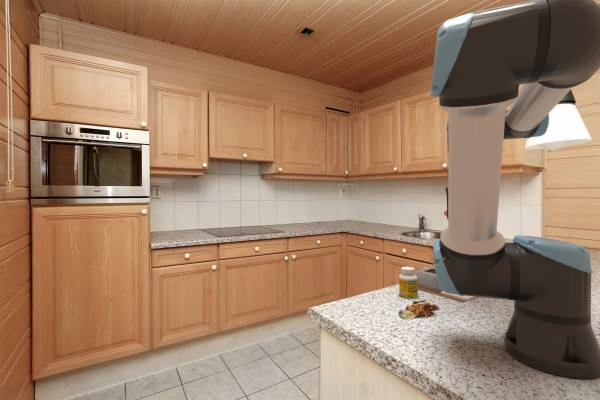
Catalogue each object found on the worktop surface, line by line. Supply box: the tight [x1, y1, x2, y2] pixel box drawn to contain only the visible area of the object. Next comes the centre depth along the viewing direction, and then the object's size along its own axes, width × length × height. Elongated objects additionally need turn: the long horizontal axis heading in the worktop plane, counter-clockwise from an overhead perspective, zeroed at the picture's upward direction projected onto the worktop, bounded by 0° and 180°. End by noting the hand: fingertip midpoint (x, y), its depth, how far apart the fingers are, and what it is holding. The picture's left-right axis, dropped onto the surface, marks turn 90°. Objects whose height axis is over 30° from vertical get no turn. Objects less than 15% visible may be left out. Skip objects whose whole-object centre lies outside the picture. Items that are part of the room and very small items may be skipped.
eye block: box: [414, 266, 442, 293], centre depth 103 cm, size 10×10×5 cm
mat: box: [441, 291, 477, 302], centre depth 94 cm, size 10×8×1 cm
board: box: [418, 287, 475, 303], centre depth 100 cm, size 16×19×1 cm
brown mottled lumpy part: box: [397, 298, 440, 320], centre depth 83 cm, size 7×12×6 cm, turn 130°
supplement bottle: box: [398, 266, 419, 300], centre depth 94 cm, size 5×5×10 cm
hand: (461, 241), depth 94 cm, fingers closed on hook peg, 5 cm apart
